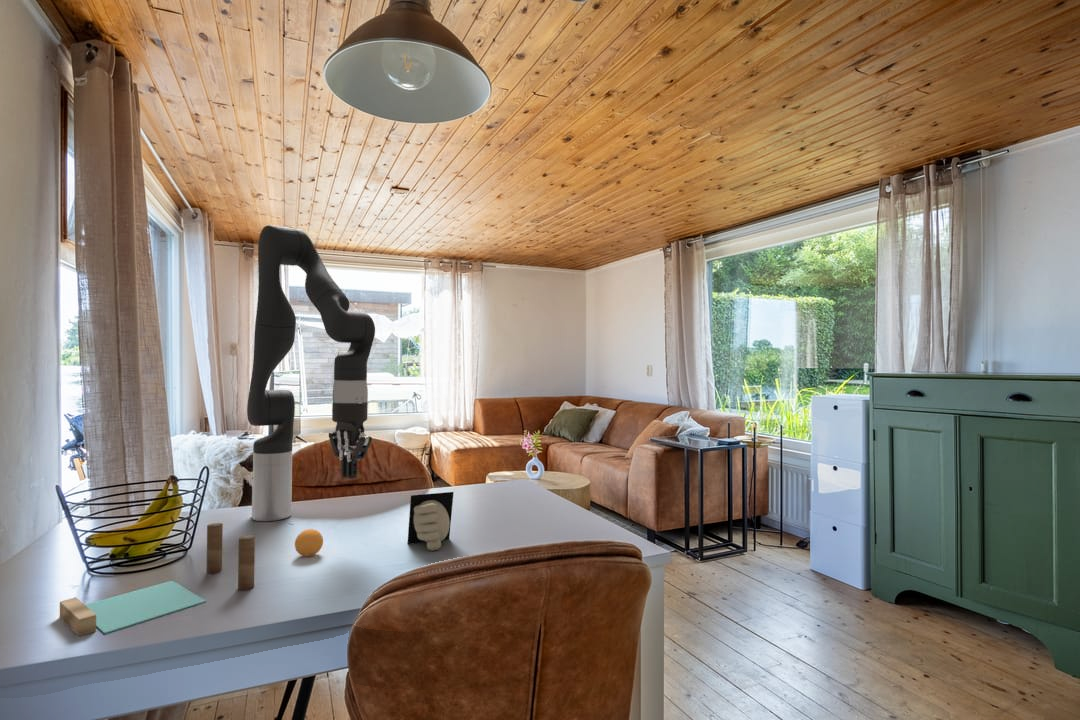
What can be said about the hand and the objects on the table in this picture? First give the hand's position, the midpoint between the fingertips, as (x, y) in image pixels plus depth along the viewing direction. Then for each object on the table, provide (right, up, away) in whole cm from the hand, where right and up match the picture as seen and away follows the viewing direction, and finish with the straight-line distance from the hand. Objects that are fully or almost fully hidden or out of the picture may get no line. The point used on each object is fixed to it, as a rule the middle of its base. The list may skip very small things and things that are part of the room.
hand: (349, 477), depth 124 cm
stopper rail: (-29, -15, -39) cm, 50 cm away
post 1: (-20, -15, -17) cm, 30 cm away
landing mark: (-24, -15, -32) cm, 42 cm away
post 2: (-10, -15, -24) cm, 30 cm away
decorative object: (+19, -16, -1) cm, 25 cm away
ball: (-6, -12, -8) cm, 16 cm away
